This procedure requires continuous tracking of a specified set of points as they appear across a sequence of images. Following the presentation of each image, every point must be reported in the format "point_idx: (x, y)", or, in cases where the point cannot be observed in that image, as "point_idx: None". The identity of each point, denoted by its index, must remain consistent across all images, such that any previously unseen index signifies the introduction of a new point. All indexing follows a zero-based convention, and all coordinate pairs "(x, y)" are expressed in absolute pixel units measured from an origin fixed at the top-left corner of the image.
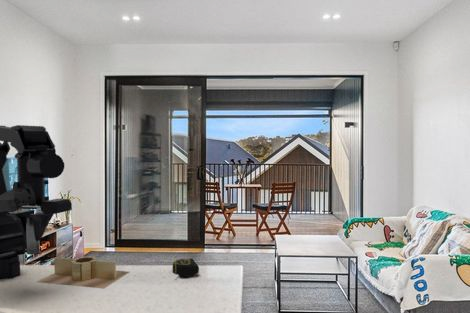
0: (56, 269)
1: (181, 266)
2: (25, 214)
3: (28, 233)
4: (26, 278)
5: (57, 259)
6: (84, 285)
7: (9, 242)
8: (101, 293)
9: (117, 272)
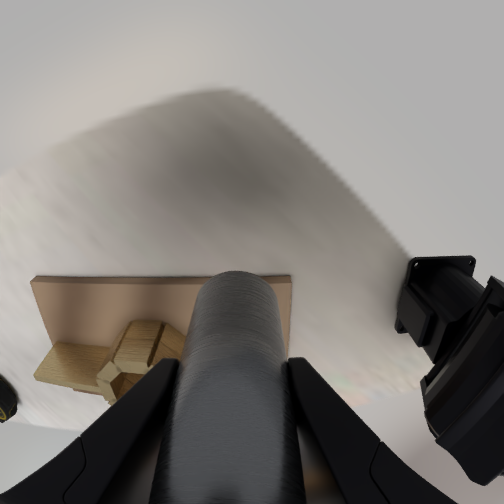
0: None
1: None
2: None
3: (222, 392)
4: (375, 317)
5: None
6: (91, 290)
7: (477, 367)
8: (36, 268)
9: None
